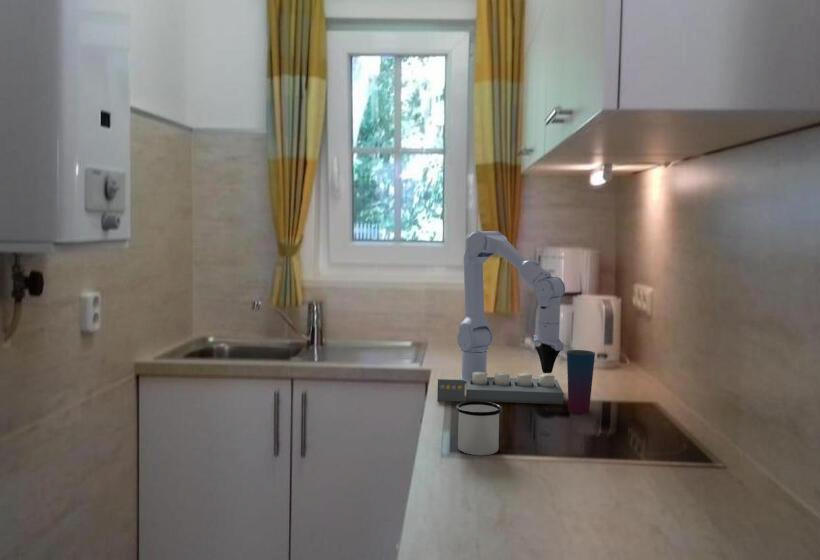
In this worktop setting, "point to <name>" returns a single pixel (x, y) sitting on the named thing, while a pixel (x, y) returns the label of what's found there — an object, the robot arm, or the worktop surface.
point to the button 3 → (524, 379)
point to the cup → (579, 380)
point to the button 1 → (479, 378)
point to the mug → (478, 427)
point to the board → (514, 392)
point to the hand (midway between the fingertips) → (547, 372)
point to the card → (451, 389)
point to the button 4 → (546, 380)
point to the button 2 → (502, 379)
